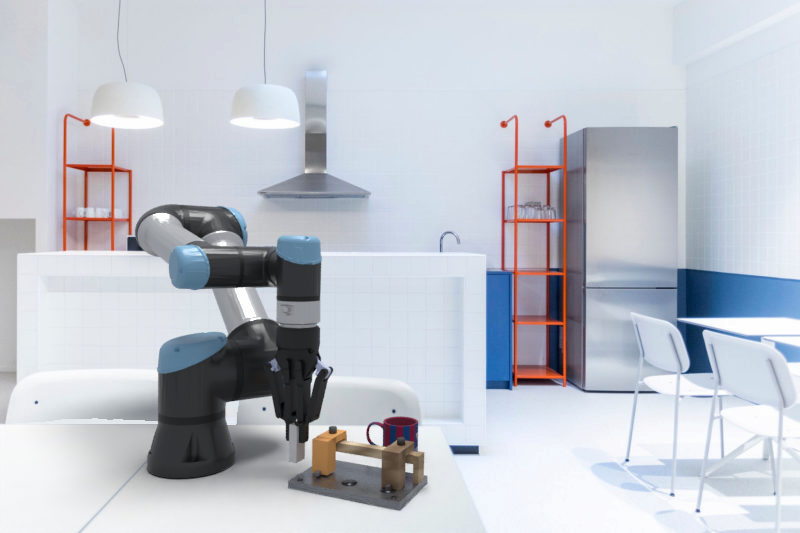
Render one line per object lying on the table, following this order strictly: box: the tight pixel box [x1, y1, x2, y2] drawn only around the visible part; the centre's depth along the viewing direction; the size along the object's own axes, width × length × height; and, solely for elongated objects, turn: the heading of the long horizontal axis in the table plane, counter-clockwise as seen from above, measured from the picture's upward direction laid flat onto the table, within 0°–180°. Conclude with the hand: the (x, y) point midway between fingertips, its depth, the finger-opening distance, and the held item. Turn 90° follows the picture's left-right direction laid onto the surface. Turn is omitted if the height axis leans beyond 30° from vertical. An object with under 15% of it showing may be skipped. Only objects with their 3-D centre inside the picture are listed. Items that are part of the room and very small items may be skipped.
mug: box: [365, 416, 419, 452], centre depth 116 cm, size 7×10×7 cm
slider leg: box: [311, 425, 348, 476], centre depth 105 cm, size 3×8×7 cm, turn 157°
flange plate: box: [287, 459, 428, 511], centre depth 101 cm, size 20×12×1 cm, turn 67°
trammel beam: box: [336, 437, 425, 491], centre depth 102 cm, size 20×8×7 cm, turn 67°
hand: (296, 460), depth 105 cm, fingers closed
